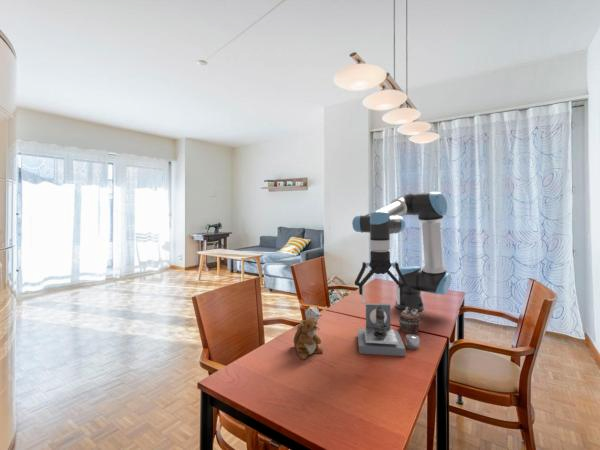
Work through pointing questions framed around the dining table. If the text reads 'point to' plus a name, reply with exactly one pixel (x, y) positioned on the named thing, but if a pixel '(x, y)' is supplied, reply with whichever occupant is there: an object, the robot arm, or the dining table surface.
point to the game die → (312, 313)
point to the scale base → (370, 320)
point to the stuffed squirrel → (307, 339)
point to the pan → (382, 340)
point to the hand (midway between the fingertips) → (380, 303)
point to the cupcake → (410, 320)
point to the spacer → (412, 341)
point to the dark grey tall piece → (380, 323)
